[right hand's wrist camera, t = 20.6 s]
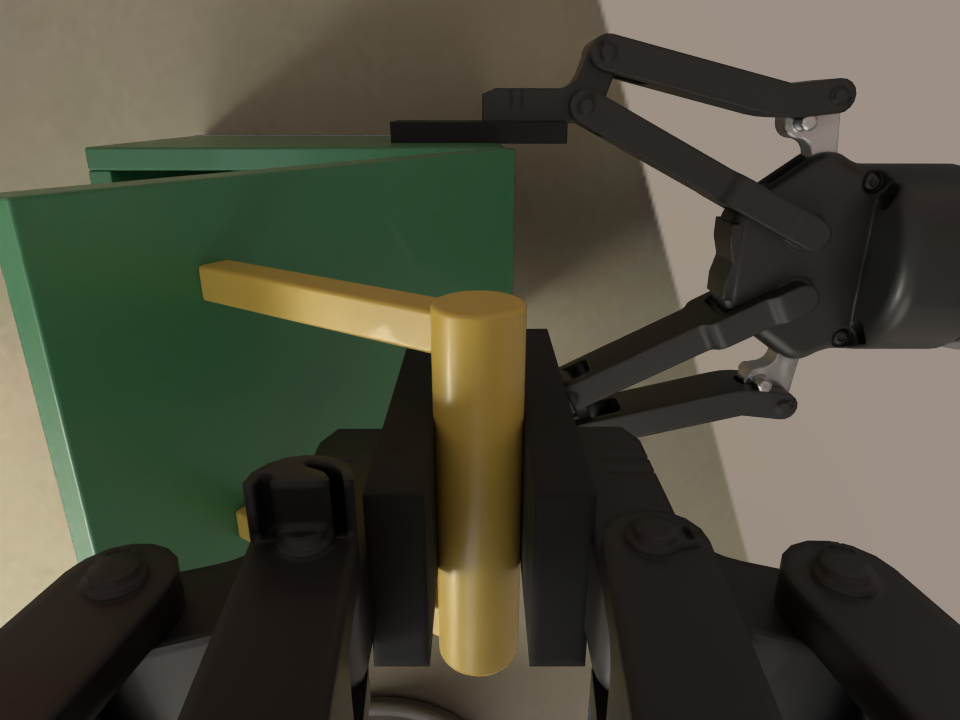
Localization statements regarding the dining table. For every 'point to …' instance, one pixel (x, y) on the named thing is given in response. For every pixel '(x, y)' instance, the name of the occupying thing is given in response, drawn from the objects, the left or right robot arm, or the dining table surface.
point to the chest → (245, 154)
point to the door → (279, 352)
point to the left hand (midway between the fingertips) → (400, 258)
